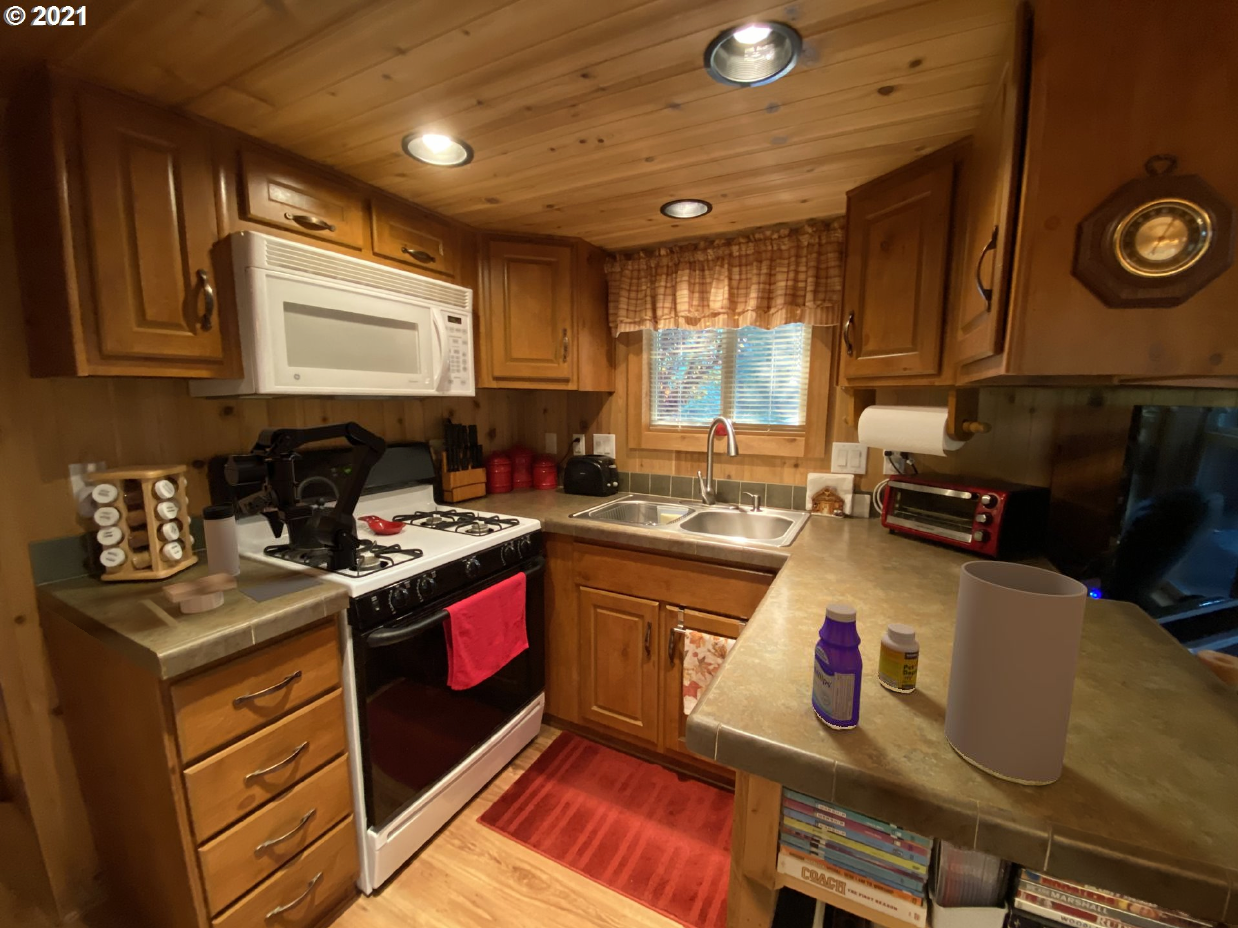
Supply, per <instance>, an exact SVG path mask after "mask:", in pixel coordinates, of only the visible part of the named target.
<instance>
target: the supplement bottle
mask: <svg viewBox="0 0 1238 928" xmlns="http://www.w3.org/2000/svg"><path fill="white" fill-rule="evenodd" d="M879 648H880V649H879V659H878V670H877V672H878V673H877V678H878V677H879V679H880V680H881V681H883V682H884V683H886V684H887V685H889V686H891V687H894V688H898V689H902V690H910V689H913V688H915V689H916V687H915V686H916V685H917V677H918V667H919V656H920V649H921V648H920V644H919V642H918V641H917V640H916V630H915V629H914V627H912V626H910V625H907V624H903V623H898V622H892V623H889V624H888V625H887V630H886V633H883V635H881V638H880V647H879Z"/></svg>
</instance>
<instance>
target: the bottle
mask: <svg viewBox="0 0 1238 928" xmlns="http://www.w3.org/2000/svg"><path fill="white" fill-rule="evenodd" d="M818 636H819V639H818V641H817V642H816V643H815V647H814V657H813V658H814V660H813V673H812V674H813V677H812V691H811V696H812V697H811V704H812V708H813V707H814V709H815V710H816V712H817V713H818V714H819V716H821V718H823V719H824V720H825V721H826V722H828V723H830V724H832V725H836V726H839V727H840V726H841V727H848V726H854V725H857V726H858V724H859V722H860V711H861V693H862V680H863V679H862V678H863V667H864V666H863V664H864V663H863V659H862V658H863V657H862V654H861V651H860V647H859V646H860V645H861V642H862V640H861V637H860V635H859V633H858V630H857V609H856V608H854V607H853V606H850V605H848V604H845V603H840V602H831V603H828V604H827V605H826V606H825V617H824V622H823V624H822V626H821V628H820V629H819V631H818ZM814 709H813V710H814Z"/></svg>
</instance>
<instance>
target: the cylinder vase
mask: <svg viewBox="0 0 1238 928" xmlns="http://www.w3.org/2000/svg"><path fill="white" fill-rule="evenodd" d="M960 567H961V568H960V575H959V576H960V577H959V584H958V596H957V602H956V603H957V605H956V613H955V614H956V616H955V624H954V625H955V626H954V633H953V641H952V642H953V643H952V653H951V661H950V662H951V663H950V671H949V681H948V689H947V690H948V691H947V699H946V700H947V701H946V709H945V721H944V726H943V727H944V728H943V729H944V730H945V732H944V735H945V734H946V736H947V738H948V739H949V741H950V742H951V743H952V745H953V746H954V747H955V748H957V750H959V751H960V752H961V753H962V754H964V756H966V757H968V758H970V759H972V760H973V761H975V762H976V763H978V764H979V765H982V766H983V767H985V768H988V769H989V770H992V771H993V772H996V773H999V774H1002V775H1003V776H1006V777H1011V778H1015V779H1021V780H1026V781H1035V782H1036V781H1039V782H1040V781H1041V782H1047V781H1048V782H1049V781H1054V780H1056V779H1058V778H1060V777H1061V776H1062V771H1063V766H1064V759H1065V758H1064V757H1065V750H1066V742H1067V736H1068V732H1069V731H1068V729H1069V722H1070V715H1071V708H1072V703H1073V702H1072V701H1073V694H1074V686H1075V680H1076V674H1077V668H1078V667H1077V666H1078V659H1079V654H1080V653H1079V652H1080V646H1081V638H1082V631H1083V624H1084V618H1085V617H1084V616H1085V610H1086V609H1085V608H1086V604H1087V595H1088V588H1087V586H1085V585H1084V584H1083V583H1082V582H1080V581H1078V580H1076V579H1074V578H1072V577H1070V576H1066V575H1064V574H1060V573H1058V572H1055V571H1051V570H1048V569H1044V568H1040V567H1036V566H1031V565H1027V564H1026V565H1025V564H1020V563H1014V562H1006V561H998V560H997V561H994V560H973V561H968V562H965V563H963V564H961V566H960ZM946 736H945V737H946ZM1060 775H1061V776H1060ZM1058 780H1059V779H1058Z"/></svg>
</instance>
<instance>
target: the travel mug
mask: <svg viewBox="0 0 1238 928" xmlns="http://www.w3.org/2000/svg"><path fill="white" fill-rule="evenodd" d="M234 510H235V509H234V504H233V502H232V501H225V502H223V503H216V504H211V505H208V506H206V507H203V508H202V515H203V517H202V518H203V528H204V539H205V546H206V547H205V548H206V555H207V564H208V574H209V575H208V576H211V575H215V574H219V573H224V572H225V573H227V574H229V575H231V576H233V577H234V578H237V577H238V576H240V574H241V567H240V566H241V564H240V554H239V545H238V544H239V543H238V537H237V536H238V535H237V526H236V525H237V523H236V517H235V513H234V512H235V511H234Z"/></svg>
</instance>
